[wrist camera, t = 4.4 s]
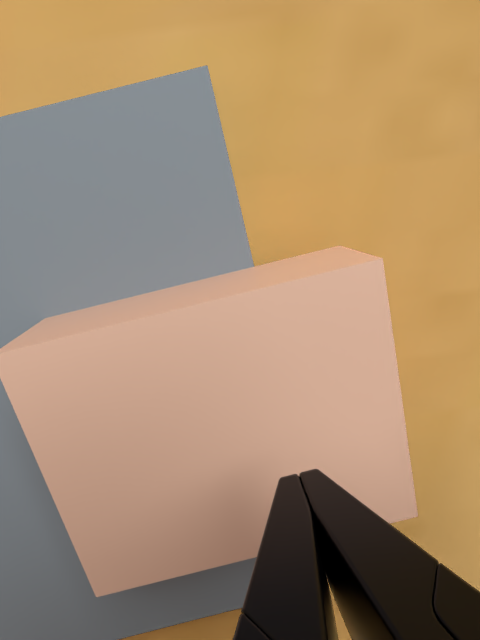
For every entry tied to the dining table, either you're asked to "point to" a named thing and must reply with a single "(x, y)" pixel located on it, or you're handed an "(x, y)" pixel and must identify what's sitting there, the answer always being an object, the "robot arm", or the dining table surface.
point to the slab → (212, 411)
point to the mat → (99, 288)
